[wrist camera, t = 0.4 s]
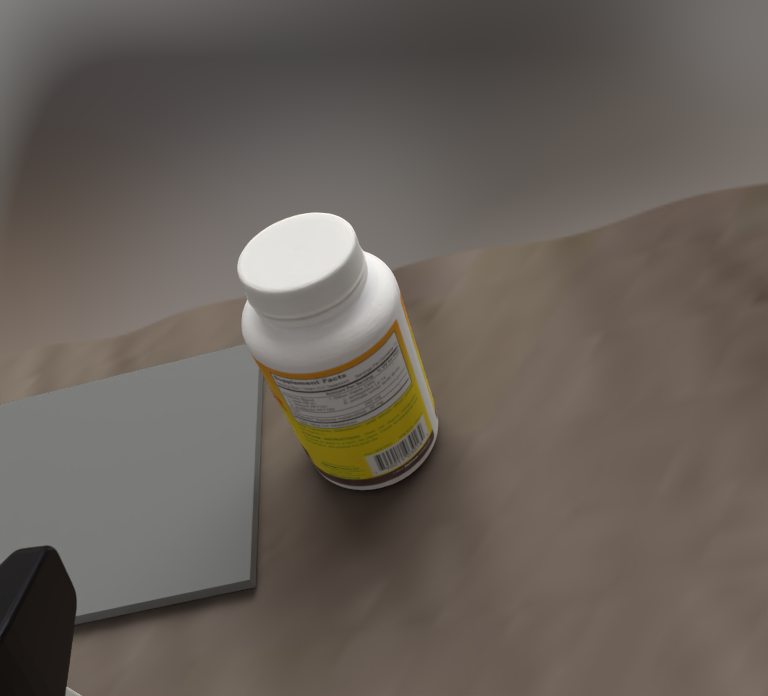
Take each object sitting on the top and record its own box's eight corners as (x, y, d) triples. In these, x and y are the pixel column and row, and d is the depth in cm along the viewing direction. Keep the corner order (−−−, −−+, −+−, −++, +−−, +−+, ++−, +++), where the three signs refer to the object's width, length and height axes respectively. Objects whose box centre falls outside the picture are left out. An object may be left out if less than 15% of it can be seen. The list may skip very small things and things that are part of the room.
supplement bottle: (336, 383, 33) (254, 197, 26) (455, 392, 31) (401, 193, 24) (291, 488, 29) (181, 307, 22) (421, 507, 27) (347, 314, 20)
